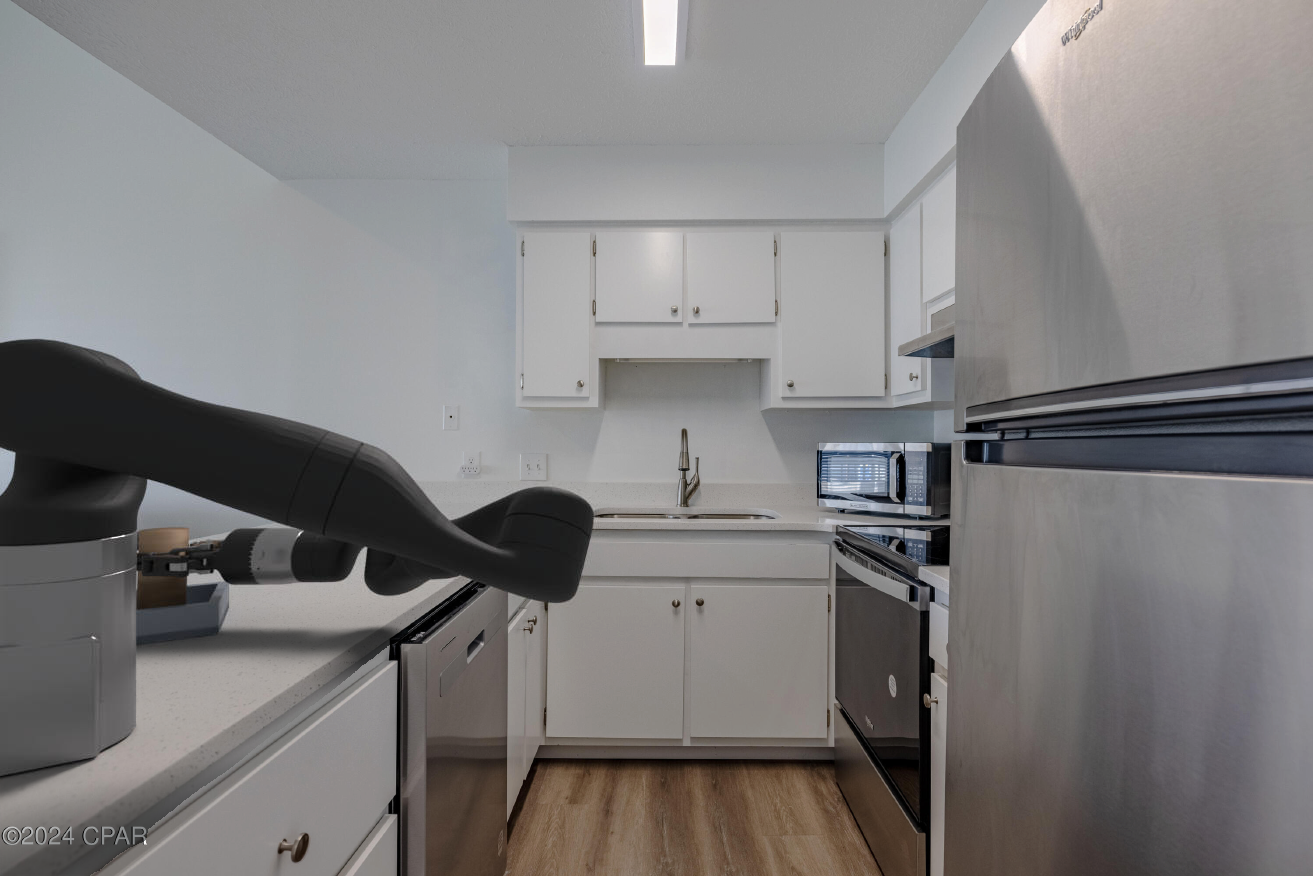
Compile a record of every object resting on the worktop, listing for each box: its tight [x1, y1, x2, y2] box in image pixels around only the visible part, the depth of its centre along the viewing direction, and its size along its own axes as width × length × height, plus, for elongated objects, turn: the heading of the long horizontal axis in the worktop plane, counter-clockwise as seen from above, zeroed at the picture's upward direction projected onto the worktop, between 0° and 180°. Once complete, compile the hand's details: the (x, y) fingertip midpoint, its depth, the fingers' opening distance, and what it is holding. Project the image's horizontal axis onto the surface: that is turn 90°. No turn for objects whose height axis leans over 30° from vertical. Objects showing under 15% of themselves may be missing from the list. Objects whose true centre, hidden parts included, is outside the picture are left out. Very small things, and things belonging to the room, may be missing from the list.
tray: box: [136, 580, 230, 646], centre depth 81 cm, size 14×14×4 cm
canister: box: [136, 526, 190, 610], centre depth 81 cm, size 5×5×12 cm
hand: (141, 556), depth 81 cm, fingers open, 6 cm apart
